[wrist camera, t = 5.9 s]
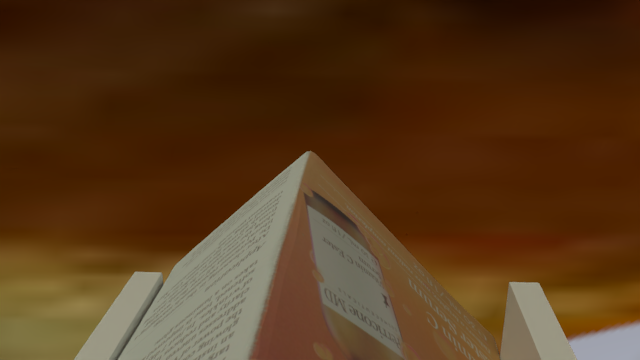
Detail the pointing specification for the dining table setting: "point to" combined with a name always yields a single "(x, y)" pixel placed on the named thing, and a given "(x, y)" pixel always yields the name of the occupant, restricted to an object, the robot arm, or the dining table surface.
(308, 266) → the small box
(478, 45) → the dining table surface
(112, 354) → the robot arm
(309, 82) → the dining table surface
